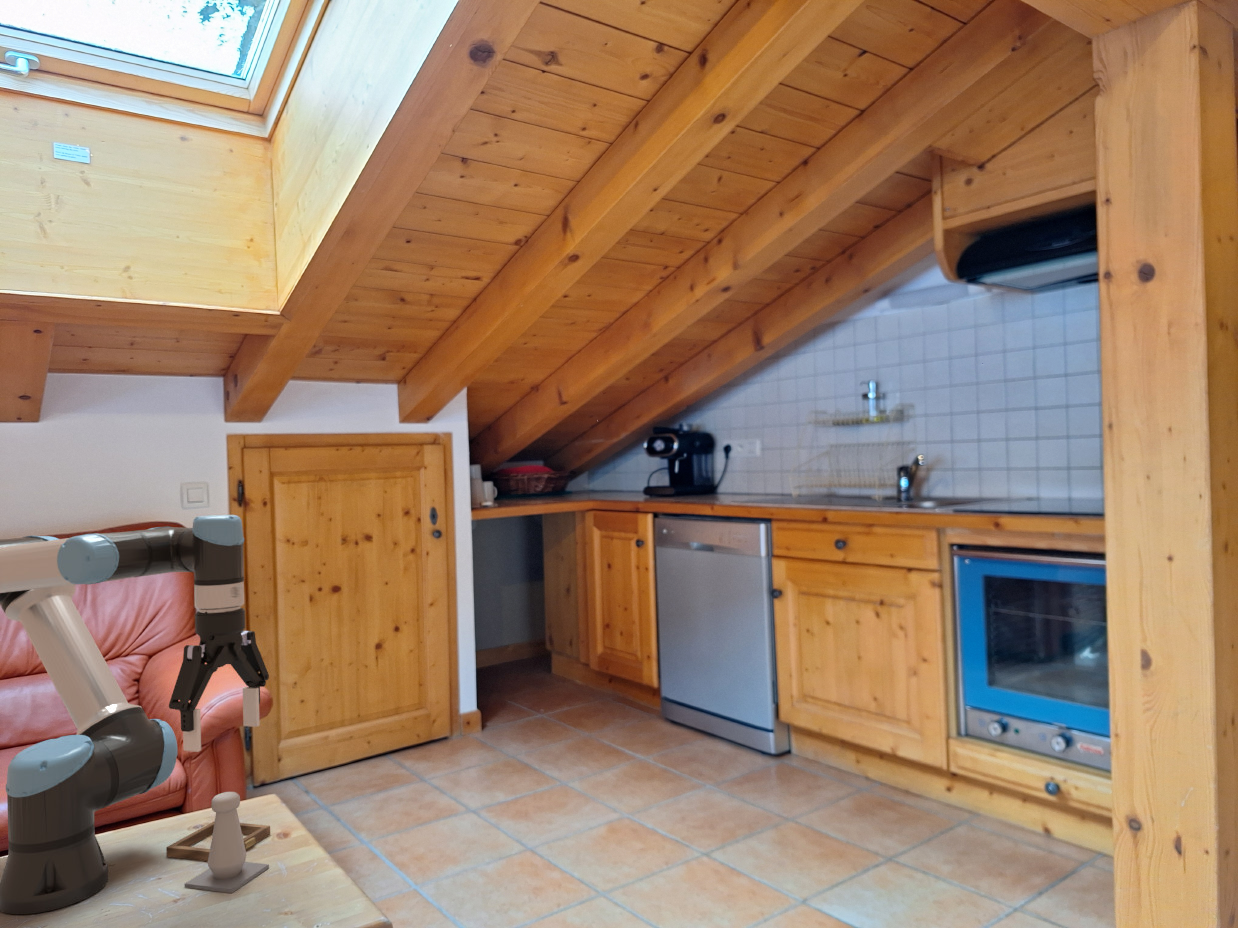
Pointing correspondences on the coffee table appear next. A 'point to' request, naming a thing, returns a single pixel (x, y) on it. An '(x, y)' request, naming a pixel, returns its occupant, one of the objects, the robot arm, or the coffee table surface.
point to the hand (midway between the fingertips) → (223, 737)
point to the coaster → (226, 885)
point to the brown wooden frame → (183, 846)
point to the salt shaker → (226, 837)
